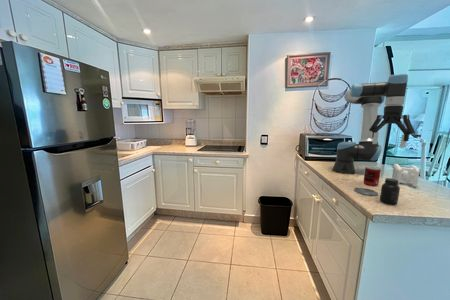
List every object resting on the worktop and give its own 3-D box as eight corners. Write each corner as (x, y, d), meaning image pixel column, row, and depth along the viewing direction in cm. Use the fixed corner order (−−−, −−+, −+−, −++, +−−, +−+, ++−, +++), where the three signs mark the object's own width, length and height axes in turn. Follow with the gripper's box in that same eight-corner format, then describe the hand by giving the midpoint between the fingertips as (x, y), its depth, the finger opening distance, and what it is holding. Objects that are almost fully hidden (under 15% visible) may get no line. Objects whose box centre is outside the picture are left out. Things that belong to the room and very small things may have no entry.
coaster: (349, 189, 111) (349, 188, 111) (363, 187, 114) (363, 186, 114) (367, 197, 100) (368, 196, 100) (383, 194, 103) (383, 193, 103)
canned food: (376, 183, 122) (378, 166, 120) (380, 187, 115) (382, 169, 113) (361, 181, 125) (364, 165, 123) (364, 185, 118) (367, 168, 116)
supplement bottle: (375, 199, 97) (379, 177, 95) (388, 199, 98) (391, 177, 96) (388, 206, 91) (392, 182, 89) (401, 205, 91) (405, 181, 89)
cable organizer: (417, 189, 112) (420, 170, 110) (393, 185, 118) (396, 167, 116) (411, 182, 124) (414, 164, 122) (390, 179, 130) (393, 162, 128)
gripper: (364, 106, 110) (360, 142, 113) (419, 103, 86) (411, 149, 90) (374, 106, 112) (369, 142, 116) (429, 104, 88) (421, 148, 92)
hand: (387, 145), depth 103 cm, fingers open, 13 cm apart
